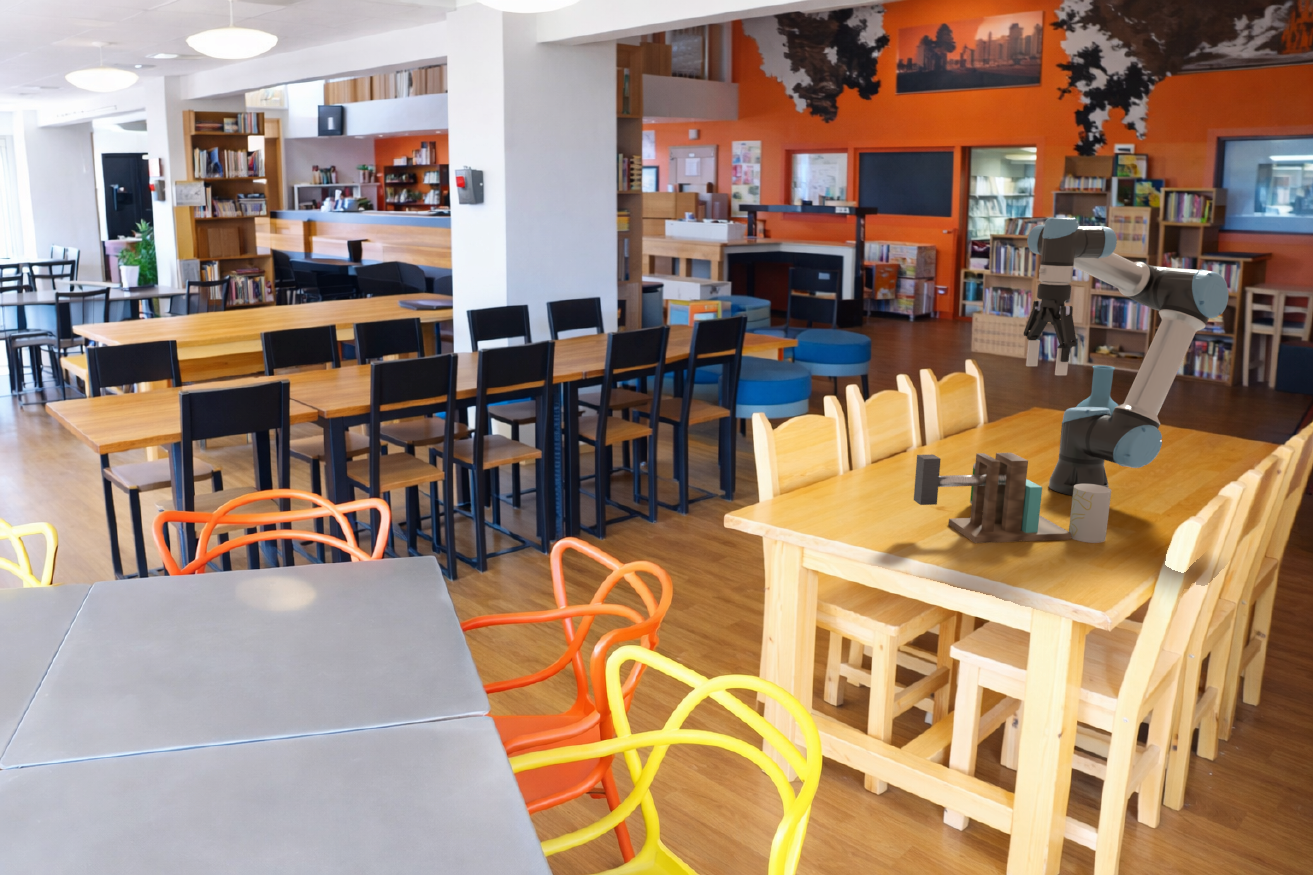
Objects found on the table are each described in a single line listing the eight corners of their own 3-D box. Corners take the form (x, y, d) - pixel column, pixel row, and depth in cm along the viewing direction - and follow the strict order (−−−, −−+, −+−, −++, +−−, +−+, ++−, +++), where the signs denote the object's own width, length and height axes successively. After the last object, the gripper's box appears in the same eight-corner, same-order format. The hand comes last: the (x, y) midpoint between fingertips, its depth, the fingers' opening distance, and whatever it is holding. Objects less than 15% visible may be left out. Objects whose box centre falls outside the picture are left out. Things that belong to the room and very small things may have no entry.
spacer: (1014, 518, 254) (1018, 474, 252) (1037, 532, 244) (1042, 487, 241) (1002, 518, 254) (1007, 475, 251) (1025, 532, 243) (1030, 487, 241)
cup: (1062, 532, 249) (1067, 483, 247) (1094, 531, 250) (1100, 483, 247) (1078, 542, 242) (1084, 493, 239) (1112, 542, 242) (1118, 492, 240)
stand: (1039, 521, 257) (1047, 448, 253) (1070, 539, 244) (1079, 462, 240) (948, 524, 253) (954, 450, 249) (974, 543, 240) (982, 465, 236)
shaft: (1004, 497, 249) (1008, 452, 246) (1012, 502, 245) (1017, 456, 242) (913, 500, 245) (917, 454, 242) (920, 505, 241) (924, 458, 239)
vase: (1130, 447, 338) (1140, 371, 333) (1079, 446, 339) (1088, 370, 333) (1109, 436, 355) (1118, 363, 349) (1061, 435, 355) (1069, 362, 349)
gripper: (1014, 279, 262) (1006, 362, 266) (1068, 287, 238) (1059, 379, 243) (1042, 279, 263) (1033, 362, 268) (1098, 287, 239) (1088, 378, 244)
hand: (1045, 370), depth 255 cm, fingers open, 13 cm apart
